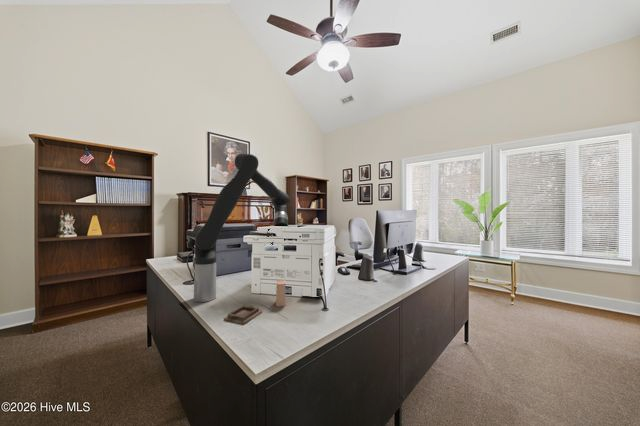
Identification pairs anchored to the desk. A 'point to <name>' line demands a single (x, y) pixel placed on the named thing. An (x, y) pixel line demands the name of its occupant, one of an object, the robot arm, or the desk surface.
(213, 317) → the desk surface
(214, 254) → the robot arm
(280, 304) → the terracotta block
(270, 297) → the desk surface
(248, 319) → the walnut cradle
